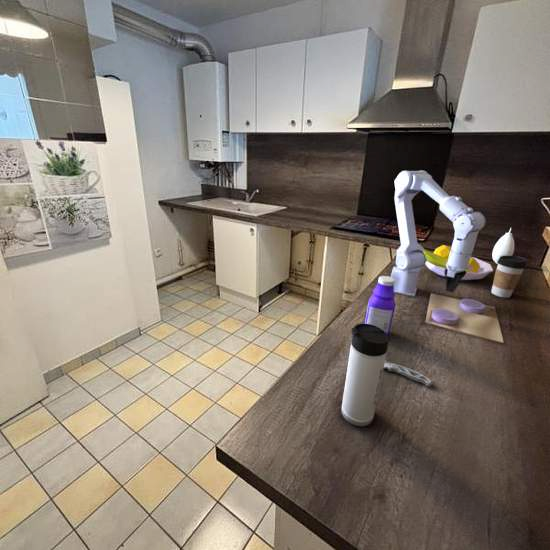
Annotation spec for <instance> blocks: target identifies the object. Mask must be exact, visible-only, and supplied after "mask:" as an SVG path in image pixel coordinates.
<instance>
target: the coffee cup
mask: <svg viewBox="0 0 550 550" xmlns="http://www.w3.org/2000/svg"><path fill="white" fill-rule="evenodd" d="M497 263H498V264H497V266H496V268H495V273H494V277H493V282H492V287H491V292H490V293H491V294H492V295H494V296H496V297H500V298H506V299H507V298H511V296H512V295H513V292H514V290H515V288H516V286H517V285H518V283H519V281H520V279H521V277H522V275H523V271H524V270H525V269H526V268H527V263H528V259H527V258H525V257H522V256H518V255H512V256H500V258H499V260H498V262H497Z"/></svg>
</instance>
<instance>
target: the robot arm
mask: <svg viewBox="0 0 550 550" xmlns="http://www.w3.org/2000/svg"><path fill="white" fill-rule="evenodd" d="M394 188H395V191H394V205H395V212H396V219H397V226H398V233H399V234H398V235H399V240H400V246H399V247H398V248H397V250H396V253H395V254H396V258H395V265H396V266H393V267H392V270H391V274H390V277H391V278H393V279H394V280H395V281H394V293H397V294H398V293H399V294H403V295H407V296H412V297H415V296H416V293H417V290H418V288H417V285H418V281H419V276H420V272H421V270H422V268H423V267H424V266H426V265H425V264H426V261H427V258H426V255H425V253H424V252H423V248H424V247H423V246H422V245H421V244H420V243H419V242H418V238H417V230H416V224H415V217H414V210H413V209H414V208H413V204H412V200H413V199H414V197H415V196H416V195H417V194H419V193H420V192H421V191H423V192H424V193H425V194H426V195H428V196H429V198H431V199H432V200H434V202H436V203H438V205H439V211H440V212H441V213H442V214H443V215H444V216H445V217H446V218H447V219H448V220H450V221H451V222H452V225H453V229H454V236H453V240H452V244H451V246H450V247H451V251H450V255H449V258H448V262H447V263H446V267H447V269H445V271H444V274H445V276H444V277H445V291H446V292H449V293H454V292H455V290H456V289H457V287H458V285H459V283H460V282H461V281H462V280H461V279H462V278H463V277H464V276H465V274H466V273H467V272H466V270H468V271H471V270H472V267H469V266H468V265H469V262H470V258H471V257H472V255H473V252H474V249H475V244H476V241H477V239H478V236H479V235H478V234H479V231H481V230H482V229H483V228H484V227H485V225H486V218H485V216H484V215H483V213H482V212H480V211H474V209H473V208H472V207H469V206H468V205H467V204H465V203H464V202H463V201H462V200H463V198H462V197H460V196H456V195H451V196H450V195H449V194H448V193H447V192H446V191H445V190H444V189H443V188H442V187H441V186H440V185H439V184H438V183H437V182H436V181H435V180H434V179H433V176H432V175H431V174H429V173H428V172H427V171H425V170H402V171H401V172H399V173H398V175H397V176H396V178H395V179H394Z"/></svg>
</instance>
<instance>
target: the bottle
mask: <svg viewBox="0 0 550 550" xmlns="http://www.w3.org/2000/svg"><path fill="white" fill-rule="evenodd" d="M394 281H395V280H394V279H393V278H391V276H388V275H380V276H379V277H378V282H377V285H375V287H374V289H373V290H372V293H373V294H372V295H371V296H370V297H369V299H368V304H367V309H366V315H365V319H364V320H365V321H364V324H370V325H374V326H376V327H379V328H381V329H382V330H383V331H384V333H386V334H387V335H388V336H389V334H390V332H391V329H392V323H393V318H394V314H395V310H396V307H397V305H396V301H395V296H396V292H394Z"/></svg>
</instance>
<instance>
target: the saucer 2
mask: <svg viewBox="0 0 550 550" xmlns="http://www.w3.org/2000/svg"><path fill="white" fill-rule="evenodd" d="M460 300H461V301H460V304H459V307H460V308H461V309H463V310H465V311H467V312H471V313H477V314H480V313H483V312H484V309H485V305H486V304H484V303H483V302H481V301H479V300H476V299H472V298H461V299H460Z"/></svg>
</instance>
